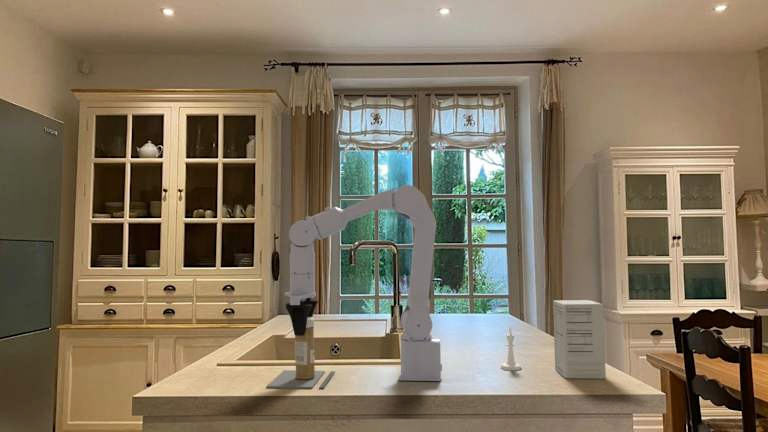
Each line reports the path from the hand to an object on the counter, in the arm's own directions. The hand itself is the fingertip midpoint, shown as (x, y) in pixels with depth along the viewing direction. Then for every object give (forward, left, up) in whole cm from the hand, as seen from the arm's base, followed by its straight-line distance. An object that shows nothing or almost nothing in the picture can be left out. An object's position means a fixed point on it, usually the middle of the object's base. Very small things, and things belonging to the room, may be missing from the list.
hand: (302, 333), depth 122 cm
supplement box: (-64, -9, -11) cm, 65 cm away
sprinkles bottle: (-1, 0, -10) cm, 10 cm away
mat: (+1, 0, -10) cm, 11 cm away
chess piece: (-49, -14, -11) cm, 52 cm away
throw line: (-6, 0, -10) cm, 12 cm away
